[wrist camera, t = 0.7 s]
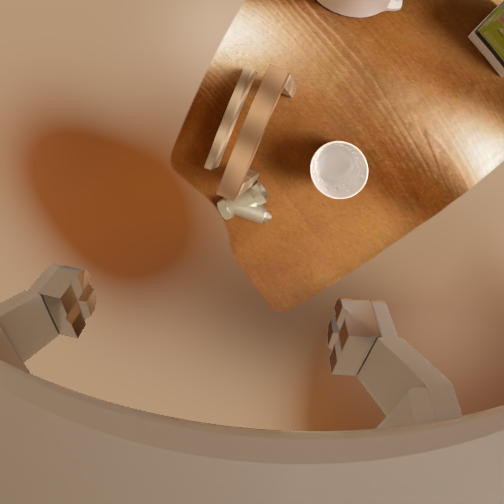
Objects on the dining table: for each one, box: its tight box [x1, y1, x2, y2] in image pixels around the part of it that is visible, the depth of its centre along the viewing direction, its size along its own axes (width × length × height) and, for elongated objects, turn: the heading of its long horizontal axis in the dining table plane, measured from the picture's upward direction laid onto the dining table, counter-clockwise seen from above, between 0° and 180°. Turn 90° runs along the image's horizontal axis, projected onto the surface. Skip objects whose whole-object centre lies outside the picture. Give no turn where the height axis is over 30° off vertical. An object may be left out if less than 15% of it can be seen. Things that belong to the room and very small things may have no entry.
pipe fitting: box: [217, 182, 273, 224], centre depth 52 cm, size 8×4×7 cm
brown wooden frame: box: [204, 64, 297, 201], centre depth 41 cm, size 18×8×14 cm, turn 158°
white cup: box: [310, 141, 368, 199], centre depth 43 cm, size 8×8×10 cm
